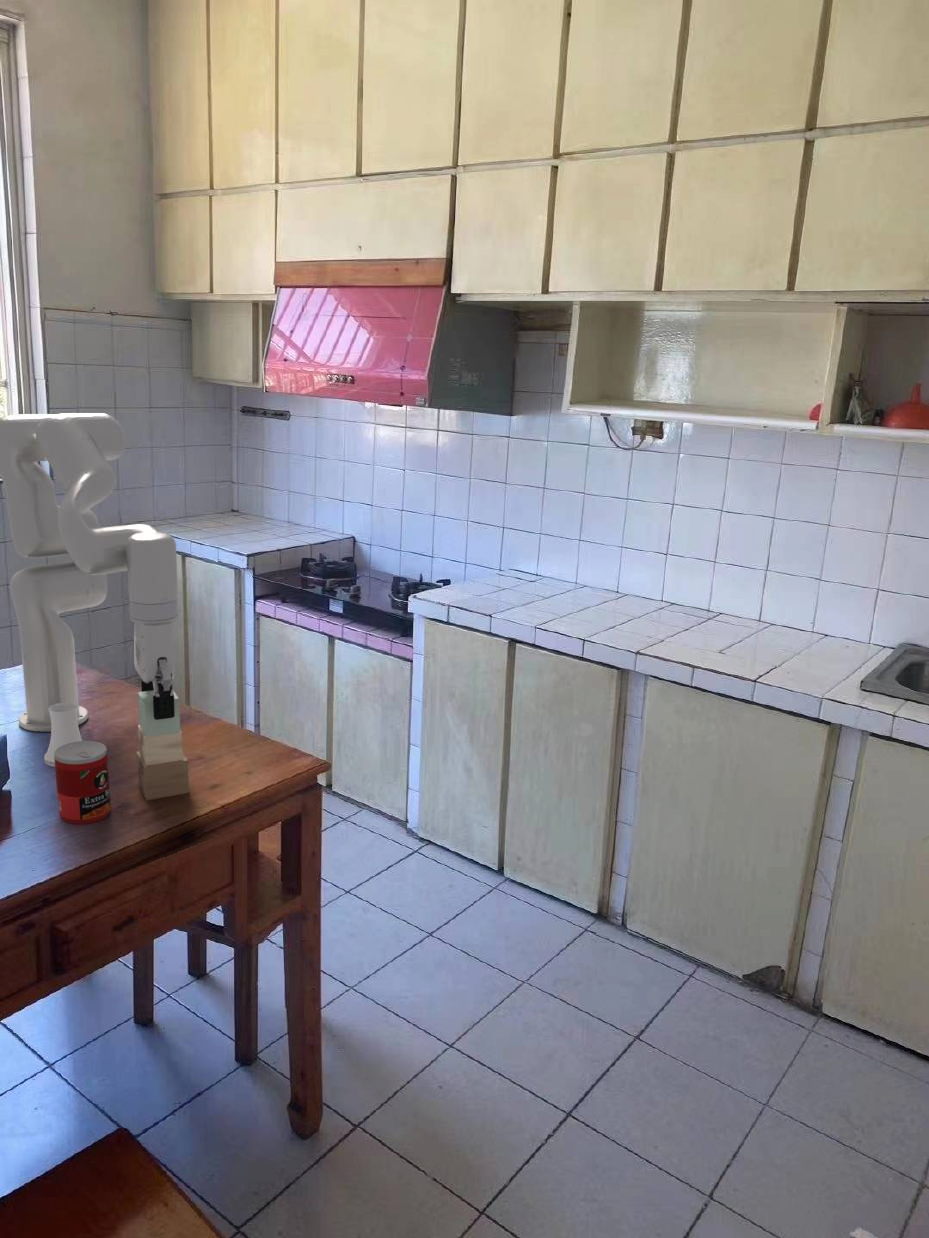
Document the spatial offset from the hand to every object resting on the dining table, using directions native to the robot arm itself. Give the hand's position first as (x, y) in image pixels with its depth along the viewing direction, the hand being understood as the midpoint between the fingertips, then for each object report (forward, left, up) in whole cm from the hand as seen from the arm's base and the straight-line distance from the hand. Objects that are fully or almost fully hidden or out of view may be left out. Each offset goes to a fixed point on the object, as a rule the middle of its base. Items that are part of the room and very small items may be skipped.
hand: (157, 707), depth 154 cm
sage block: (+1, 0, -4) cm, 4 cm away
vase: (-19, -13, -15) cm, 27 cm away
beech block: (0, 0, -9) cm, 9 cm away
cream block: (0, 0, -15) cm, 15 cm away
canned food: (+5, -13, -15) cm, 20 cm away
